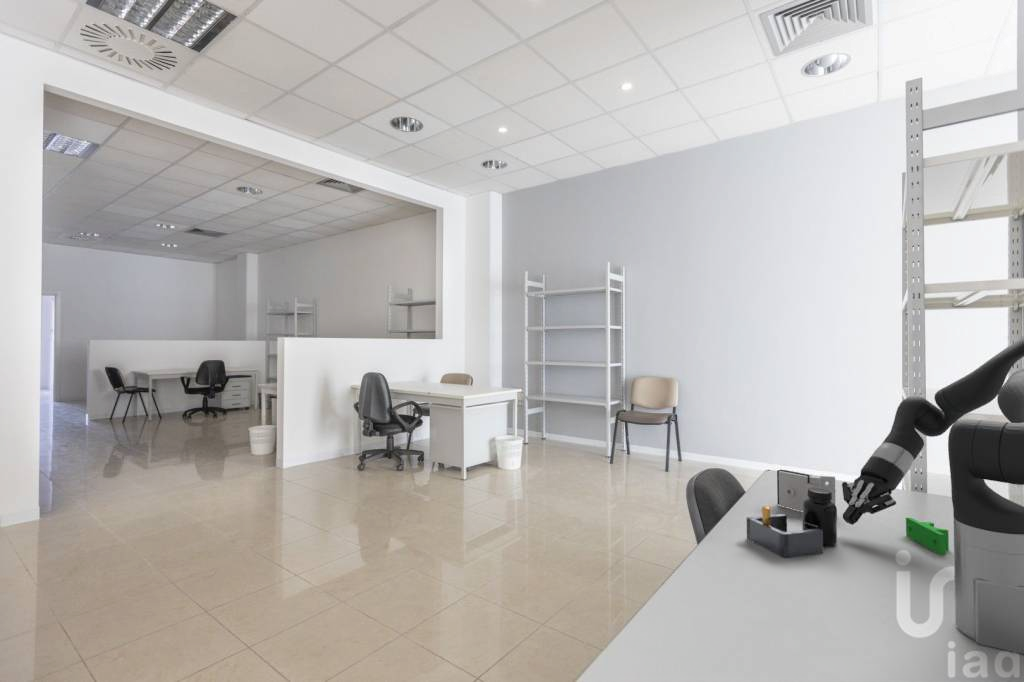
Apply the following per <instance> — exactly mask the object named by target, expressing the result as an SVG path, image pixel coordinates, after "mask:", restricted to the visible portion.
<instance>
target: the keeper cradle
mask: <svg viewBox="0 0 1024 682" xmlns="http://www.w3.org/2000/svg"><path fill="white" fill-rule="evenodd" d="M761 509H762V511H761V514H762V515H760V516H747V517H746V539H747V540H748V539H749V540H748V541H750V540H751V541H750V542H752V541H753V542H752V543H754V544H756V545H757V546H759V547H762V548H764V549H766V550H767V551H769V552H771V553H773V554H775V555H777V556H779V557H781V558H783V559H787V558H795V557H796V558H797V557H798V558H799V557H805V556H806V557H807V556H812V555H813V556H814V555H820V554H824V546H823V530H821V529H809V530H803V529H802V530H793V531H788V523H787V522H788V520H787V519H788V517H787V514H784V513H779V514H778V513H777V514H771V507H770V506H765V505H764V506H761Z"/></svg>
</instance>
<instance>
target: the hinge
mask: <svg viewBox="0 0 1024 682" xmlns="http://www.w3.org/2000/svg"><path fill="white" fill-rule="evenodd" d="M776 479H777V482H776V483H777V485H776V486H777V494H776V495H777V505H778V504H779V505H781V506H784V507H789V508H792V509H796V510H799V511H803V502H804V500H806V499H808V498H809V497H808V496H807V494H808V488H810V487H817V488H824V489H828V490H830V491H831V492H832V500H831V502H832V503H834V504H835V506H836V507H837V505H836V504H837V503H836V476H833V475H832V476H831V475H815V474H809V473H805V472H799V471H794V470H788V469H779V470H777V471H776ZM826 483H828V484H826ZM799 511H798V512H799Z"/></svg>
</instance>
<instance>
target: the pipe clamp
mask: <svg viewBox="0 0 1024 682" xmlns="http://www.w3.org/2000/svg"><path fill="white" fill-rule="evenodd" d="M905 534H906V535H905V536H906V537H908V538H909V539H911V540H913V541H915V542H917V543H919V544H920V545H922V546H924V547H925V548H928V549H929V550H931V551H933V552H934V553H936V554H938V555H941V556H943V555H944V556H945V555H946V551H950V550H949V549H950V548H949V543H950V542H949V530H948V529H946V528H940V527H935V522H932V521H931V522H929V521H927V522H924V521H919V520H917V519H914V518H913V517H905Z"/></svg>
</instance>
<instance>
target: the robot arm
mask: <svg viewBox="0 0 1024 682" xmlns="http://www.w3.org/2000/svg"><path fill="white" fill-rule="evenodd" d="M1022 358H1024V336H1022V337H1020V338H1019V339H1017V340H1016V341H1015V342H1013V343H1011V344H1010V345H1008V346H1006V348H1004V349H1002V350H1001V351H1000V352H998V353H997V354H995V355H994V356H993V357H991V358H990V359H988V360H987V361H985V362H984V363H983V364H982V365H980V366H979V367H977V368H976V369H975V370H972V371H971V372H970V373H968V374H966V375H964V376H963V377H961V378H959V379H957V380H955V381H953V382H952V383H950V384H948V385H946V386H944V387H942V388H941V389H939V390H937V392H936V393H934V401H935V404H936V405H937V406H936V405H934V404H933V403H932V402H930V401H929V400H928V399H926V398H924V397H923V396H921V395H911V396H908V397H906V398H904V399H903V400H902V401H901V402H900V403H899V404H898V407H897V408H896V412H895V415H894V420H893V422H892V426H891V430H890V432H889V433H888V435H887V436H886V437H885V439H884V440H883V441H882V443H881V444H880V445H879V446H878V447H877V448H876V449H875V450H874V451H873V453H872V454H871V455H870V457H869V458H868V460H867V461H866V462H865V464H864V465H863V467H862V468H861V469H860V475H859V476H858V477H857V478H855V479H854V481H853V482H850V483H848V482H847V481H843V482H842V483H841V488H842V489H841V490H842V496H843V500H844V501H845V503H846V504H847V508H846V509H845V511H844V512H843V513H842V519H843V521H844V522H845V523H847V524H849V525H855V524H856V523H858V522H859V520H860V519H861V517H862V515H864V514H867V513H869V514H870V515H873V514H877V513H879V512H881V511H884V510H886V509H888V508H891V507H893V506H895V505H897V501H896V500H895V499H894V498H893V497H892V495H891V494H892V491H894V490H896V489H897V488H898V485H899V484H900V483H901V482H902V480H903V479H904V477H905V476H906V475H907V473H908V472H909V470H910V469H911V467H912V465H913V463H914V461H915V460H916V459H917V457H918V456H919V454H920V453H921V451H922V450H923V448H924V446H925V441H924V439H923V437H921V435H920V434H922V435H924V436H926V437H930V438H931V437H939V436H941V435H943V434H944V433H946V432H947V431H948V430H949V433H948V437H947V438H948V440H947V441H948V442H947V448H948V449H947V451H948V463H949V474H950V484H951V485H950V486H951V487H950V490H951V502H952V508H953V557H954V560H953V562H954V563H953V564H954V565H953V568H954V570H953V571H954V602H955V603H954V606H955V607H954V608H955V609H954V610H955V612H954V613H955V626H956V625H957V626H956V628H957V627H958V628H959V629H958V628H957V629H958V630H959V631H960V632H961V631H962V632H961V633H962V634H964V635H966V636H967V637H969V638H971V639H972V640H974V641H975V643H977V644H979V645H982V646H987V647H991V648H996V649H1000V650H1006V651H1009V652H1014V653H1019V654H1023V655H1024V506H1023V505H1021V504H1018V503H1016V502H1014V501H1012V500H1010V499H1007V498H1006V497H1004V496H1002V495H1001V494H999V493H997V492H996V491H994V490H993V489H992V488H991V487H989V486H988V484H987V483H986V480H987V481H993V482H996V483H997V482H999V483H1004V484H1010V485H1018V486H1019V485H1020V486H1024V367H1023V368H1020V369H1018V370H1016V371H1015V372H1013V373H1012V374H1011V375H1010V376H1009V377H1008V374H1009V372H1010V371H1011V369H1012V367H1014V365H1016V363H1017V362H1018V361H1020V360H1021V359H1022ZM1007 377H1008V378H1007ZM1006 378H1007V379H1006ZM996 398H997V399H996ZM994 399H996V400H997V401H996V402H997V405H998V409H1000V411H1001V413H1002V415H1003V416H1004V417H1005V418H1006V419H1007V420H1008V421H1009V422H1007V421H997V420H995V421H994V420H986V419H985V420H983V419H975V418H962V417H964V416H965V415H967V414H969V413H971V412H973V411H975V410H978V409H980V408H981V407H984V406H986V405H987V404H989V403H991V402H992V401H993V400H994ZM949 428H950V429H949ZM918 432H919V433H920V434H919V433H918Z"/></svg>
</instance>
